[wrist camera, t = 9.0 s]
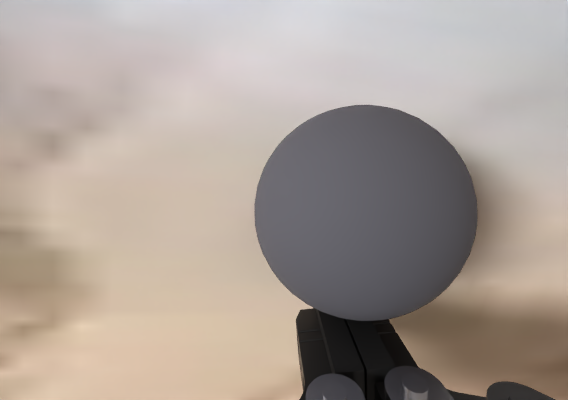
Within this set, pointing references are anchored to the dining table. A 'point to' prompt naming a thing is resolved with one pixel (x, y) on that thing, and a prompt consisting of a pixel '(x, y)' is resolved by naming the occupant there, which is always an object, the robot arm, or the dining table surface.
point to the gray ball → (365, 213)
